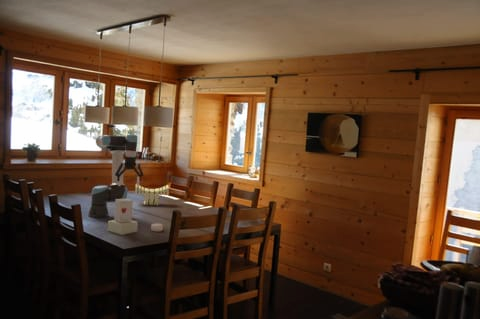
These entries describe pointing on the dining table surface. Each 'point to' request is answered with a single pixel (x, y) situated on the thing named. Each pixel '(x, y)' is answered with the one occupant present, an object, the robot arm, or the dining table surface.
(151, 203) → the slatted curved stool
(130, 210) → the supplement box
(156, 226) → the beige round lump
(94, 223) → the dining table surface
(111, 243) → the dining table surface
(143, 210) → the dining table surface
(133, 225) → the pedestal box
